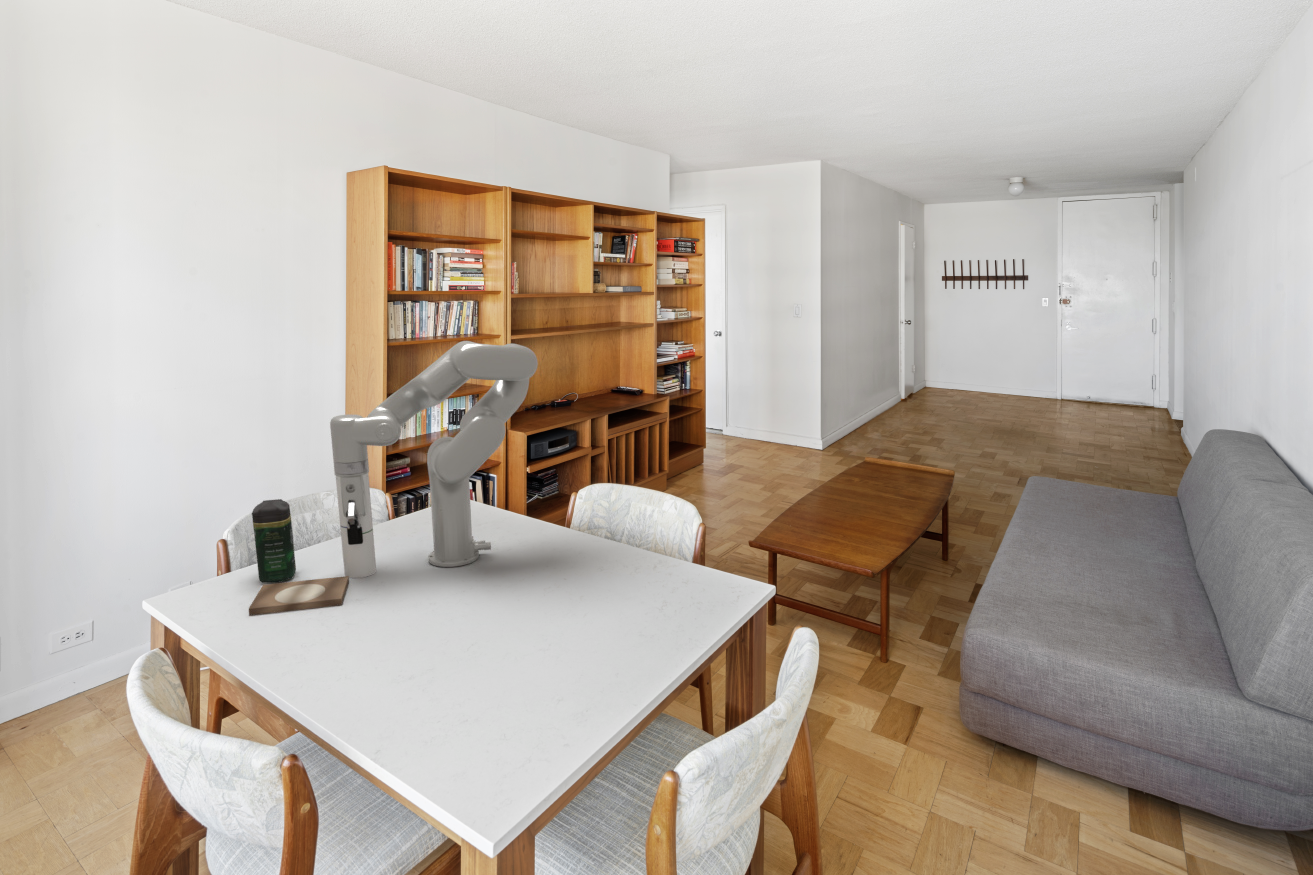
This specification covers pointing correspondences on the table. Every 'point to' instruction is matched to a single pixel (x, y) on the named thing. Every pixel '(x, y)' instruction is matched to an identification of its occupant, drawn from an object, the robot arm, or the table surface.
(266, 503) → the coffee jar
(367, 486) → the cylindrical container
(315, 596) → the walnut board
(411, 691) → the table surface
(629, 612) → the table surface
